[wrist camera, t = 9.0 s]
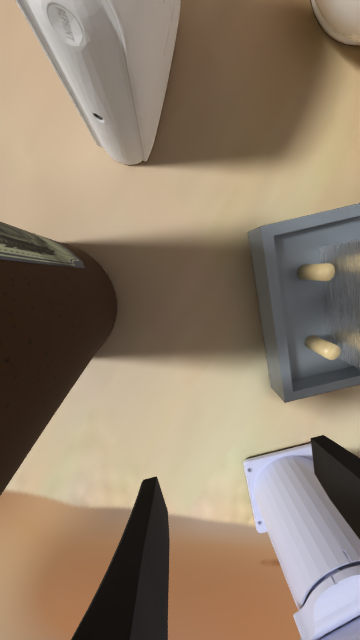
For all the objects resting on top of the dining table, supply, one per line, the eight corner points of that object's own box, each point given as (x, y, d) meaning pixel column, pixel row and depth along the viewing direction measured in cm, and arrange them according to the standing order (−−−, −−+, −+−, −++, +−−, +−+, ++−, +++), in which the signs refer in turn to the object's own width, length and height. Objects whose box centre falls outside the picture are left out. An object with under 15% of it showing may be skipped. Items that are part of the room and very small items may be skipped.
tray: (414, 352, 21) (462, 368, 18) (271, 387, 21) (291, 410, 18) (416, 192, 18) (475, 174, 15) (247, 232, 18) (267, 223, 15)
